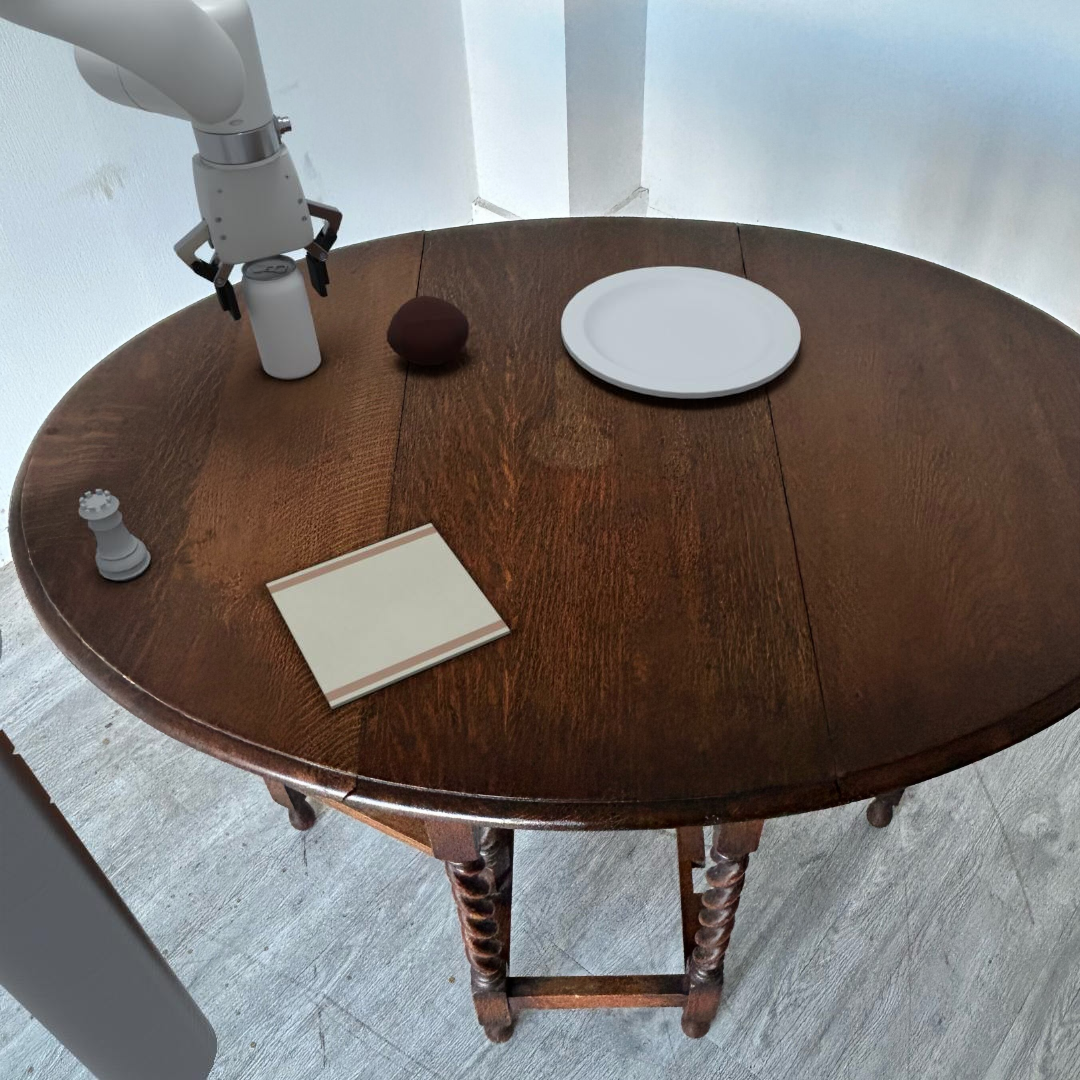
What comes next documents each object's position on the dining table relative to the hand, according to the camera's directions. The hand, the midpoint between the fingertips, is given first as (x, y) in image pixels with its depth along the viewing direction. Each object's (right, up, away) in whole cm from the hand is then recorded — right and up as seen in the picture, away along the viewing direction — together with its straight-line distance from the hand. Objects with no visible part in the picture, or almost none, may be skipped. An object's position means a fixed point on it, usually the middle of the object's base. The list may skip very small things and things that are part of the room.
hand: (277, 302), depth 107 cm
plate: (+44, -2, +11) cm, 45 cm away
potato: (+15, -5, +7) cm, 18 cm away
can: (0, -6, +6) cm, 8 cm away
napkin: (+16, -33, -21) cm, 42 cm away
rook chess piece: (-8, -29, -17) cm, 35 cm away
